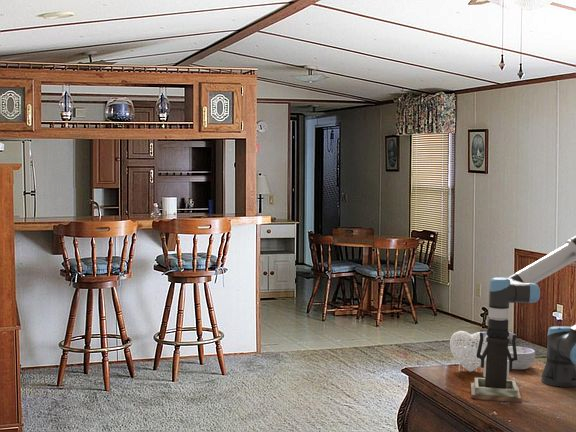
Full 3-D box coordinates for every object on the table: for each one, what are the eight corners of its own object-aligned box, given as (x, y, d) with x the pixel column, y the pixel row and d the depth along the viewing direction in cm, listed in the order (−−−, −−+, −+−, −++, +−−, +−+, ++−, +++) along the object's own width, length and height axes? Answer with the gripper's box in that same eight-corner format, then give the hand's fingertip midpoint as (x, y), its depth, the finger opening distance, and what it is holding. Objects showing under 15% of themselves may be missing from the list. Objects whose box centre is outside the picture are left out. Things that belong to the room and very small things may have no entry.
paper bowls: (491, 364, 378) (492, 346, 377) (519, 362, 384) (520, 344, 383) (513, 372, 364) (514, 354, 364) (542, 370, 370) (542, 352, 370)
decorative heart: (448, 373, 360) (450, 332, 359) (448, 367, 371) (449, 328, 370) (492, 375, 358) (494, 335, 356) (490, 369, 368) (492, 330, 367)
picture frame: (517, 389, 336) (518, 379, 336) (520, 402, 319) (521, 391, 318) (470, 386, 340) (471, 376, 339) (471, 398, 322) (471, 388, 322)
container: (505, 385, 333) (507, 334, 332) (508, 391, 324) (511, 339, 323) (482, 384, 334) (484, 333, 333) (485, 390, 325) (487, 338, 324)
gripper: (525, 318, 329) (523, 376, 330) (470, 315, 333) (468, 372, 334) (527, 321, 322) (524, 381, 323) (470, 318, 326) (468, 377, 327)
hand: (495, 377), depth 329 cm, fingers closed on container, 8 cm apart
